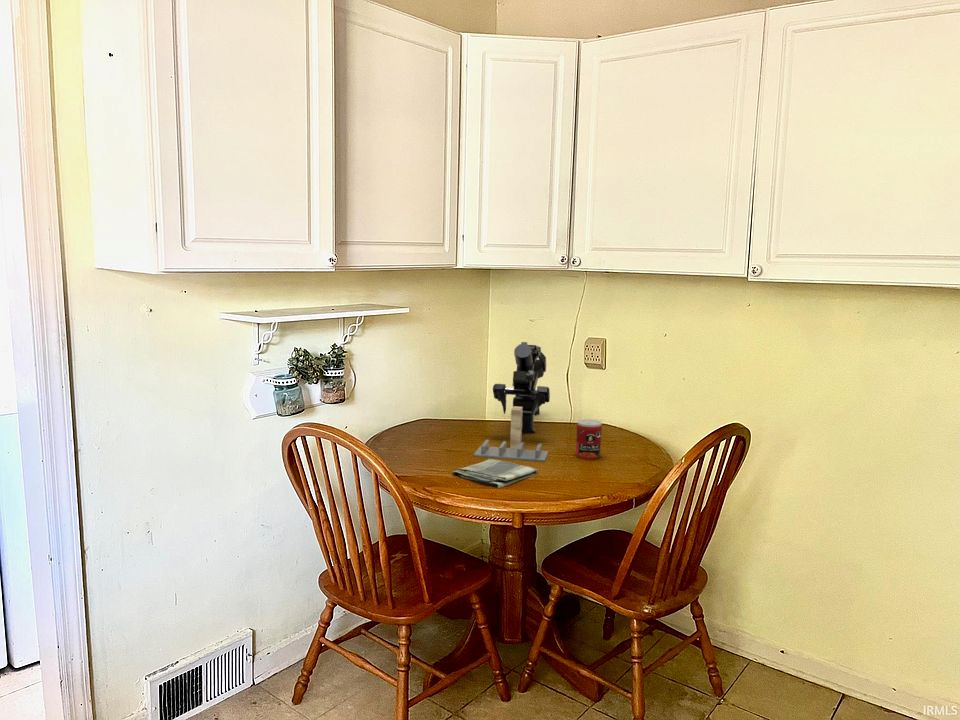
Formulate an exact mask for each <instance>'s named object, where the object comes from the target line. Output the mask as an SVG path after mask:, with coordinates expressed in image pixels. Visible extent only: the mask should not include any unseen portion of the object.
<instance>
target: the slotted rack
mask: <svg viewBox="0 0 960 720" xmlns="http://www.w3.org/2000/svg"><path fill="white" fill-rule="evenodd" d="M507 444H508V443H507V440H503V441H502V443H501V444H500V446H499V447H496V446H490V439H486V440H484V442H483V443H482V444H481V445H479V446H478V448H477V450H475V452H474V453H473V457H479V458H488V459H502V460H515V461H516V460H517V461H529V462H539V463H545V462H546V460H547V457H548V454H549V451H547V450H542V446H543V445H542V443H538V444H537V446H536V449H525V442H523V441H521V443H520V445H519V447H518V448H517V449H513V448H510V447H507Z"/></svg>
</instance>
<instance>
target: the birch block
mask: <svg viewBox="0 0 960 720" xmlns="http://www.w3.org/2000/svg"><path fill="white" fill-rule="evenodd" d="M522 411H523V407H516V406H513V405H512V408H511V410H510V412H511V413H510V442H509V444H510V445H509V448H513V449H517V448H518V447H519V445H520V443H521V442H522V438H523V437H522V436H523V434H522Z"/></svg>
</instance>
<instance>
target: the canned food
mask: <svg viewBox="0 0 960 720" xmlns="http://www.w3.org/2000/svg"><path fill="white" fill-rule="evenodd" d="M602 429H603V423H602V422H601V420H598V419H592V418H591V419H590V418H587V419H586V418H584V419H578V420H577V423H576V441H575V454H576V457H578V458H579V459H582V460H597V459H599V458H600V457H601V450H602V449H601V447H602V433H603V432H602Z"/></svg>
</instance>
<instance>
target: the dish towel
mask: <svg viewBox="0 0 960 720" xmlns="http://www.w3.org/2000/svg"><path fill="white" fill-rule="evenodd" d="M538 473H539V471H538V469H537V468H534V467H531V466H528V465H521V464H517V463H513V462H509V461H504V460H500V459H495V458H488V459H486V460H484V461H482V462H478V463H474V464H473V463H472V464H470V465H468V466H464V467H459V468H457V470H453V471H452V472H451V475H452V476H457V477H459V476H460V477H459V478H463V479H465V480H468V481H472V482H473V481H475V482H476V483H479V484H482V485H483V486H492V487H495V488H497V489H501V488H504V487H506V486H509V485H512V484H514V483H516V482H520V481H521V480H522V481H523V480H525V479H527V478H530V477H532V476H533V477H534V476H535V475H537V474H538ZM454 474H455V475H454Z"/></svg>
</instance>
